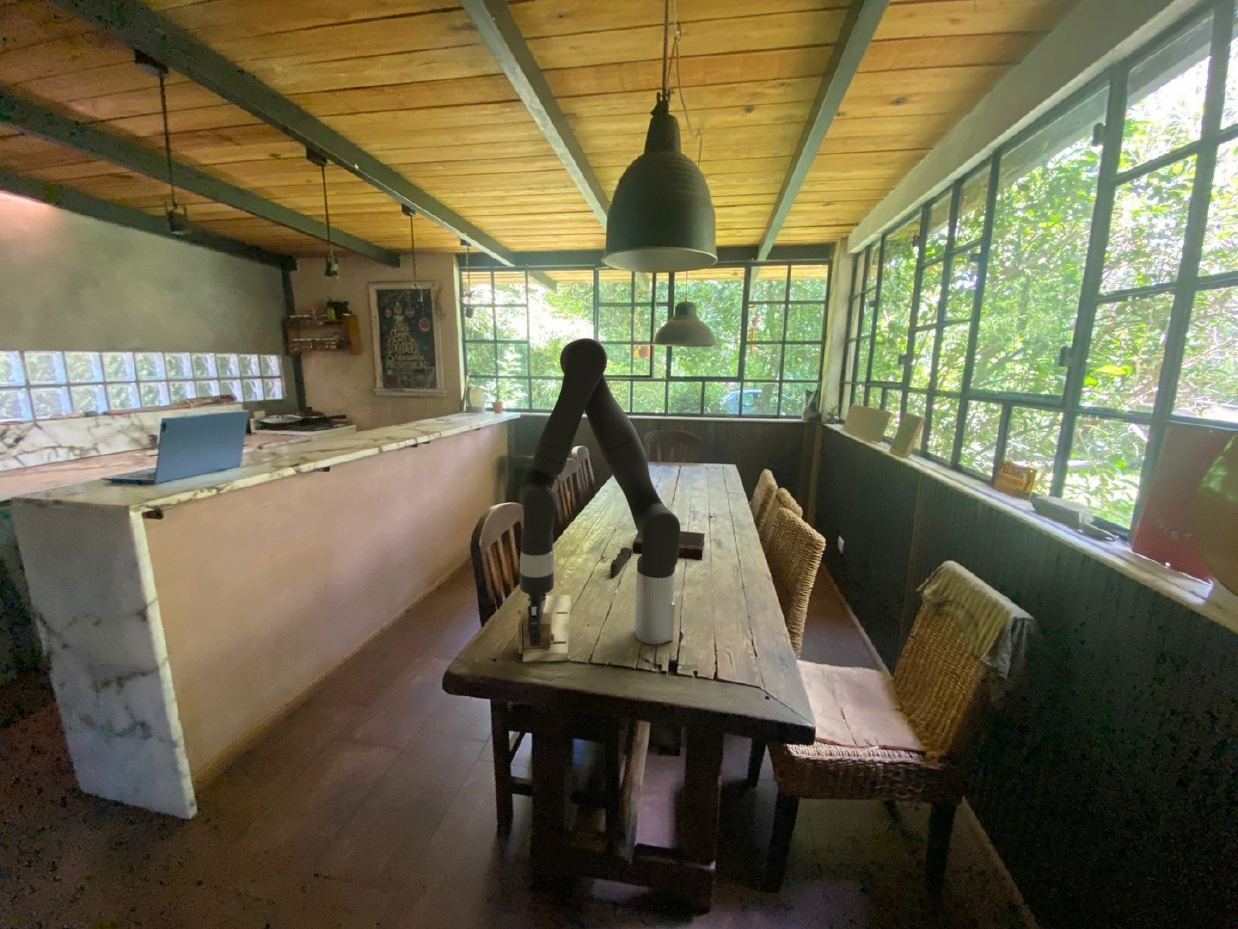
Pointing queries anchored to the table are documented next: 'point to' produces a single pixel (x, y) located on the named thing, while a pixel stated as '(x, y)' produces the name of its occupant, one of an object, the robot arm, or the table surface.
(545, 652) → the board
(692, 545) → the diary
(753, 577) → the table surface
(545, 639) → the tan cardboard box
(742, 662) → the table surface
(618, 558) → the hand tool
